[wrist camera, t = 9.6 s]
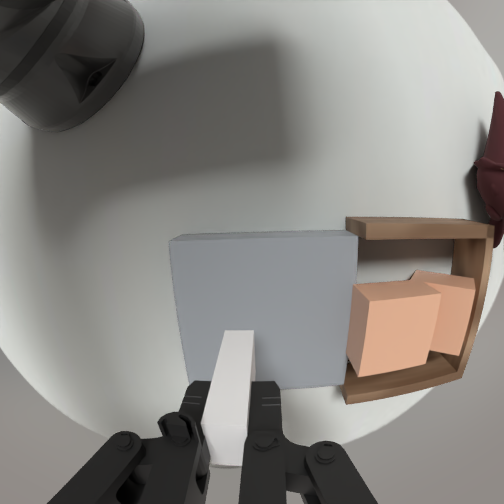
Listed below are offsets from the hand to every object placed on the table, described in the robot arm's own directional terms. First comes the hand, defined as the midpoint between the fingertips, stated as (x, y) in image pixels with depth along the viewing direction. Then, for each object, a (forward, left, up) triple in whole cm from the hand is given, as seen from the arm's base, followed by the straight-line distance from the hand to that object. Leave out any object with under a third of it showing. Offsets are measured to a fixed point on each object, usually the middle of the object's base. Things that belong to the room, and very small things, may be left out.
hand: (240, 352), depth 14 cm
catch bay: (+1, +14, -8) cm, 16 cm away
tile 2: (+1, +14, -4) cm, 15 cm away
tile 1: (+1, +10, -5) cm, 11 cm away
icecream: (-11, +23, -8) cm, 26 cm away
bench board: (+1, +1, -8) cm, 8 cm away
